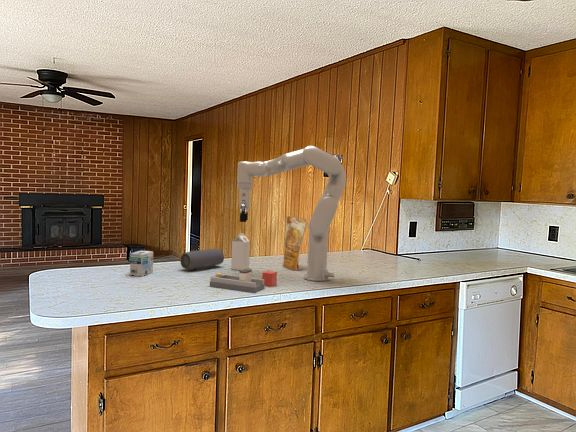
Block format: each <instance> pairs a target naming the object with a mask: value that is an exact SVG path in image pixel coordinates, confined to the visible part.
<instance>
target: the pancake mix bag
mask: <svg viewBox="0 0 576 432" xmlns="http://www.w3.org/2000/svg"><path fill="white" fill-rule="evenodd" d="M285 219H286V224H285V225H286V226H285V237H284V252H283V253H284V254H283V264H282V266H283V267H284V268H285V269H288V270H290V271H299V268H300V267H299V258H300V252H301V247H302V242H303V239H304V233H305V230H306V227H307V220H306V219H304V218H300V217H299V218H298V217H295V216H286V218H285Z"/></svg>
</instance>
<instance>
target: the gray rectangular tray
mask: <svg viewBox="0 0 576 432" xmlns="http://www.w3.org/2000/svg"><path fill="white" fill-rule="evenodd" d="M209 278H210V279H209V287H211V288H212V287H213V288H219V289H224V290H225V289H226V290H231V291H239V292H245V293H253V294H255V293H256V292H257V293H258V292H259V291H261V290H263V289H265V287H266V286H265V284H264V279H262V278H255V277H251V282H247V281H239V275H234V274H225V273H223V272H216V273H215V275H213V276H211V277H209Z"/></svg>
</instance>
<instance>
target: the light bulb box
mask: <svg viewBox="0 0 576 432" xmlns="http://www.w3.org/2000/svg"><path fill="white" fill-rule="evenodd" d="M129 257H130V259H129V260H130V262H129V276H131V275H134V277H141V276H142V277H145V276H148V275H150V274H149V273H151V274H153V273H154V250H153V251H151V250H137V251H134V252H131V253H130V256H129ZM152 272H153V273H152ZM147 274H148V275H147ZM144 275H145V276H144Z"/></svg>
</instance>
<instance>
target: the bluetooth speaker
mask: <svg viewBox="0 0 576 432" xmlns="http://www.w3.org/2000/svg"><path fill="white" fill-rule="evenodd" d="M224 260H225V255H224V252H223V250H222V249H221V248H220V249H219V248H208V249H200V250H192V251H188V252H187V251H186V252H183V253H182V254H181V256H180V259H179V261H180V265H181V267H182V268H183V269H185V270H194V271H201V270H202V271H203V270H206V269H211V268H212V267H214V266H218V265H221V264H223V262H224Z"/></svg>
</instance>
